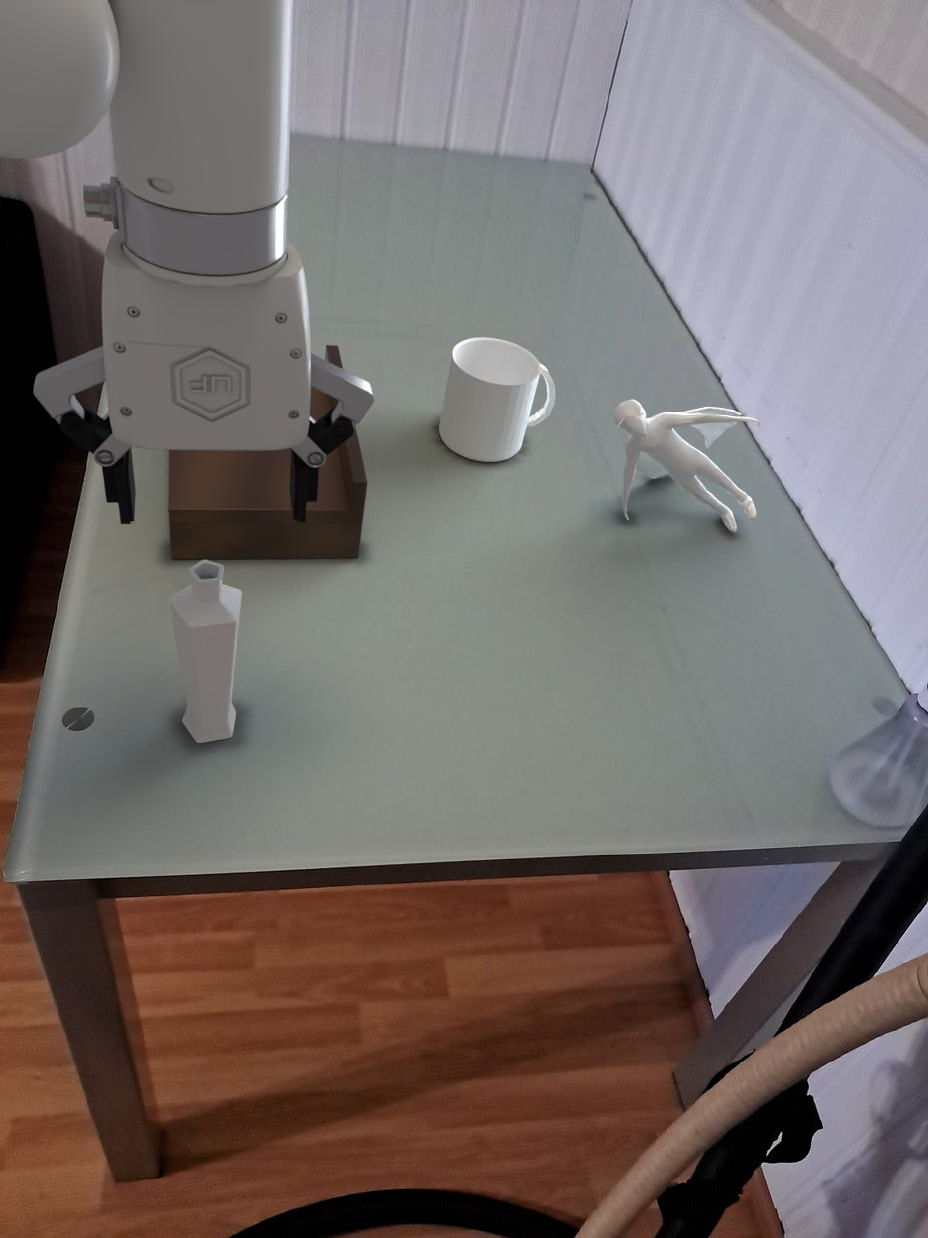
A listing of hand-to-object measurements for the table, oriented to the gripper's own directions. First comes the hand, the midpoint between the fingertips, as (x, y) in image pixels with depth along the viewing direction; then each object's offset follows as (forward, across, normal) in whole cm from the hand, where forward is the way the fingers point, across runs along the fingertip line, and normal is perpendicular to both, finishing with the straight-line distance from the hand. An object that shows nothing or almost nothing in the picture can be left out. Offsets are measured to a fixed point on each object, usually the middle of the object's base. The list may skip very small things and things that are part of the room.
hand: (214, 508), depth 56 cm
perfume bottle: (+20, -1, 0) cm, 20 cm away
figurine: (+21, +44, +26) cm, 55 cm away
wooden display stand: (+20, +4, +29) cm, 36 cm away
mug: (+21, +29, +37) cm, 52 cm away
